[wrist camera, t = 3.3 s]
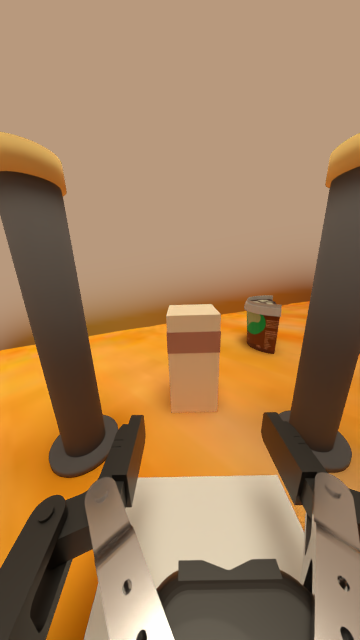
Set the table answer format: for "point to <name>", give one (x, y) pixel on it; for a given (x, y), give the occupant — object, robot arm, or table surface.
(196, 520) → the mat
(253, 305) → the food container
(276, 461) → the robot arm
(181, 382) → the carton
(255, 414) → the table surface
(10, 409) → the table surface
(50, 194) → the gate
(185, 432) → the table surface
